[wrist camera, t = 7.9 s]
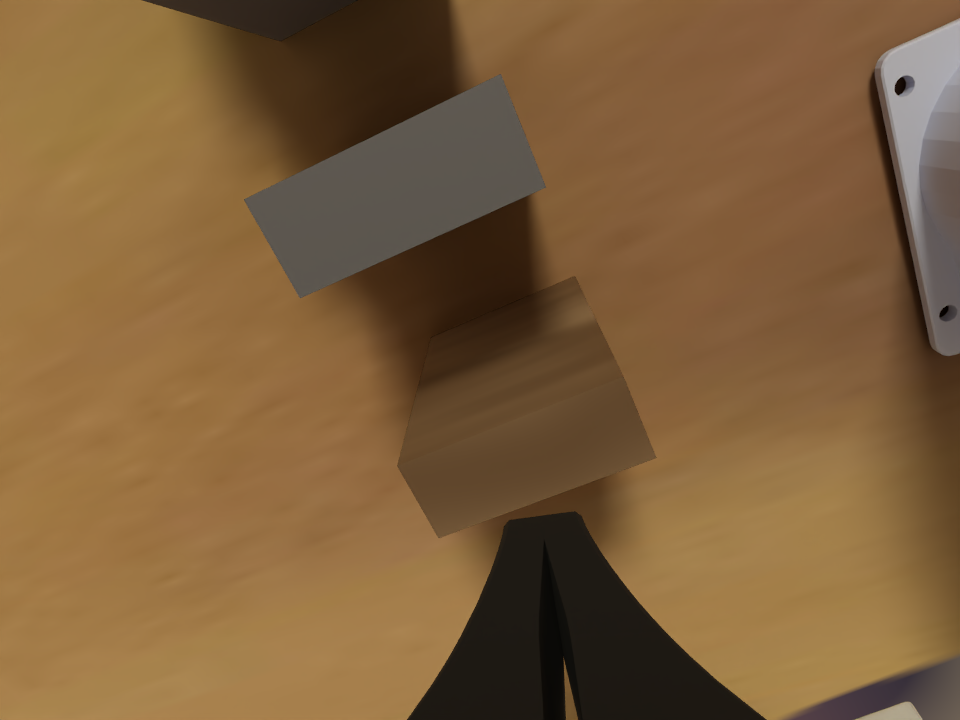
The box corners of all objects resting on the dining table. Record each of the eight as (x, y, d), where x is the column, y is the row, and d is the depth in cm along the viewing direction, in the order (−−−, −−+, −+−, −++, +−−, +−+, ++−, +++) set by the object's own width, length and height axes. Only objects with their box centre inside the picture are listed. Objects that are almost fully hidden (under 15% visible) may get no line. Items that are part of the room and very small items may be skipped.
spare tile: (597, 331, 21) (656, 457, 13) (457, 388, 22) (438, 538, 14) (574, 276, 20) (623, 376, 13) (431, 337, 21) (396, 466, 13)
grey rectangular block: (524, 154, 19) (545, 187, 11) (372, 224, 20) (299, 298, 12) (497, 86, 18) (501, 73, 11) (341, 162, 19) (244, 199, 11)
